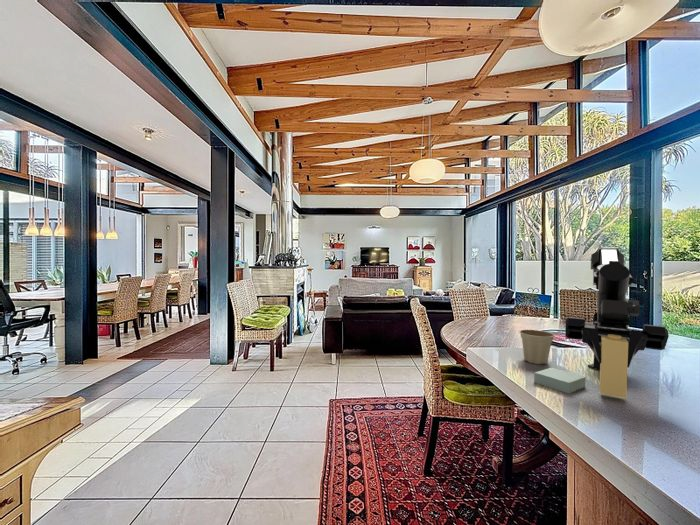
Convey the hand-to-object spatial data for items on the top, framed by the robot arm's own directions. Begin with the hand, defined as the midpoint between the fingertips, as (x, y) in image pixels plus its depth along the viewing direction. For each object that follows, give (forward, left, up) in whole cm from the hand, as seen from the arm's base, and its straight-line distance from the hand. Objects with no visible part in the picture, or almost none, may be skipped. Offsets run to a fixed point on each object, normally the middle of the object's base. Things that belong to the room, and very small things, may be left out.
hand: (613, 364), depth 76 cm
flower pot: (-11, -26, -8) cm, 29 cm away
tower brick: (-1, -1, -7) cm, 7 cm away
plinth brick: (+2, -11, -8) cm, 13 cm away
